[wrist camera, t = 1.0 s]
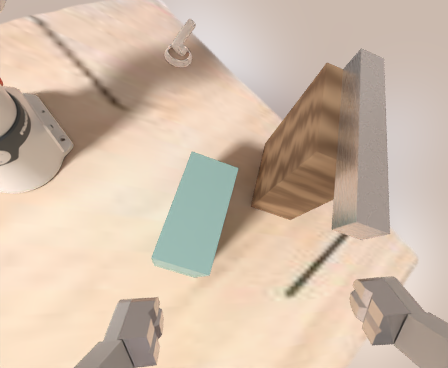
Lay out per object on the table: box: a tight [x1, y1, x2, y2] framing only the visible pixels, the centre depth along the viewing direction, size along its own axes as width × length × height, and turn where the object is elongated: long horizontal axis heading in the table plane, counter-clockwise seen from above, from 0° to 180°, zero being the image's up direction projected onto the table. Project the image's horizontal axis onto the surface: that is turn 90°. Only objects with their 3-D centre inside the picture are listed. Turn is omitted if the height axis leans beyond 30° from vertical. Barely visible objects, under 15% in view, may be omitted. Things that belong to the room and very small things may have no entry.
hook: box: [164, 19, 196, 67], centre depth 65 cm, size 8×12×7 cm
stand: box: [251, 63, 343, 220], centre depth 48 cm, size 18×10×26 cm, turn 165°
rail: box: [332, 49, 390, 240], centre depth 33 cm, size 28×4×4 cm, turn 165°
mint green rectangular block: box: [152, 152, 239, 277], centre depth 43 cm, size 17×8×16 cm, turn 165°
